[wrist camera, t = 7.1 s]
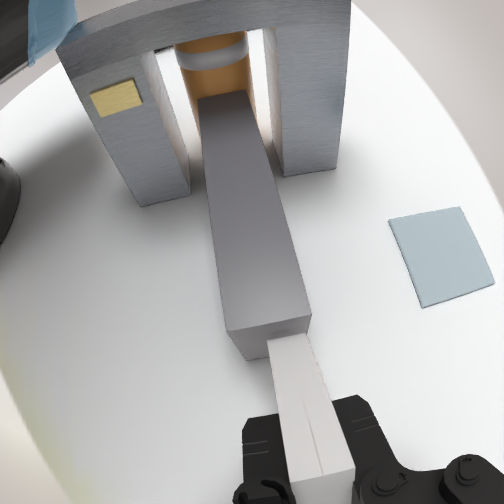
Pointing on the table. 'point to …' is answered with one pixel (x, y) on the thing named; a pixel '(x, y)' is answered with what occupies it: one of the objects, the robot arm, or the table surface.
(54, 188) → the table surface
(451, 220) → the mat
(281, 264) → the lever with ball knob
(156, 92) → the arch
